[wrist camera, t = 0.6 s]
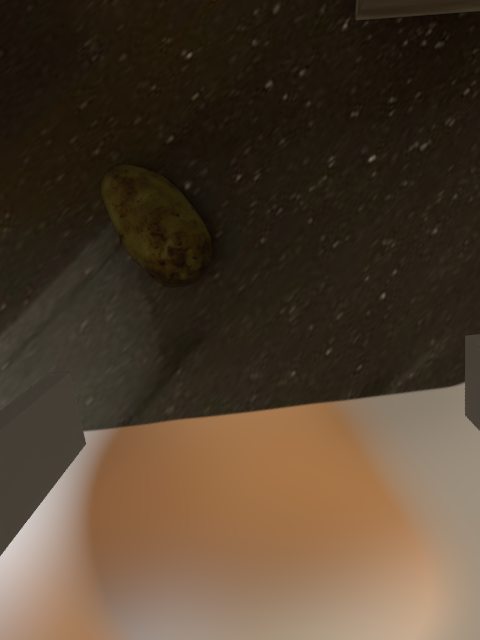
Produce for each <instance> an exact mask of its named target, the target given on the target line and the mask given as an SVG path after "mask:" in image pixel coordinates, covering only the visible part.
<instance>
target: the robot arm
mask: <svg viewBox="0 0 480 640" xmlns="http://www.w3.org/2000/svg"><path fill="white" fill-rule="evenodd" d="M465 415H466V416H467V418H468V419H469V420H470V421H471V422H472V423H473V424H474V425H475V426H476V427H477V428H478V429H479V430H480V335H469V336H465ZM85 445H86V442H85V437H84V433H83V428H82V424H81V419H80V414H79V410H78V405H77V401H76V396H75V392H74V387H73V383H72V378H71V374H70V372H64V373H53V374H48V375H47V376H46V377H44V378H43V379H42V380H40V381H39V382H38V383H36V384H35V385H34V386H33V387H31V388H30V389H29V390H27V391H26V392H25V393H23V394H22V395H21V396H20V397H18V398H17V399H16V400H14V401H13V402H12V403H10V404H9V405H8V406H7V407H5V408H4V409H3V410H1V411H0V556H1V554H2V553H3V552H4V550H5V549H6V548H7V547H8V545H9V544H10V543H11V541H12V540H13V539H14V537H15V536H16V535H17V534H18V532H19V531H20V530H21V528H22V527H23V525H24V524H25V523H26V522H27V520H28V519H29V518H30V517H31V515H32V514H33V513H34V511H35V510H36V509H37V507H38V506H39V505H40V503H41V502H42V501H43V500H44V498H45V497H46V496H47V494H48V493H49V492H50V490H51V489H52V488H53V486H54V485H55V484H56V483H57V481H58V480H59V479H60V477H61V476H62V475H63V473H64V472H65V470H66V469H67V468H68V467H69V466H70V464H71V463H72V462H73V460H74V459H75V458H76V456H77V455H78V454H79V452H80V451H81V450H82V449H83V447H84V446H85Z"/></svg>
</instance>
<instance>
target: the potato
mask: <svg viewBox="0 0 480 640" xmlns="http://www.w3.org/2000/svg"><path fill="white" fill-rule="evenodd" d="M101 195H102V199H103V202H104V204H105V207H106V209H107V212H108V214H109V216H110V219H111V221H112V223H113V225H114V227H115V229H116V231H117V233H118V235H119V238H120V242H121V243H122V244H123V246H124V247H125V249H126V251H127V252H128V253H129V254H130V256H131V257H132V258H133V259H134V260H135V261H136V262H137V263H138V264H140V265H141V266H142V267H143V268H144V269H145V270H146V272H147V273H148V274H149V275H150V276H151V277H152V278H153V279H154V280H156V281H157V282H159V283H161V284H162V285H164V286H167V287H172V288H173V287H183V286H187V285H190V284H192V283H194V282H196V281H197V280H199V279H200V278H201V277H203V276H204V275H205V273H206V272H207V270H208V268H209V266H210V263H211V260H212V242H211V237H210V234H209V232H208V230H207V227H206V226H205V224H204V222H203V220H202V219H201V217H200V216H199V214H198V213H197V211H196V210H195V209H194V207H193V206H192V205H191V204H190V203H189V202H188V200H187V199H186V198H185V196H184V195H183V193H182V192H181V191H180V190H179V189H178V188H177V187H176V186H175V185H174V184H172V183H171V182H170V181H169V180H168V179H166V178H165V177H163V176H162V175H160V174H159V173H157V172H155V171H152V170H150V169H146V168H142V167H138V166H134V165H129V164H118V165H115V166H113V167H111V168H110V169H109V170H108V171H107V172H106V174H105V176H104V177H103V180H102V183H101Z"/></svg>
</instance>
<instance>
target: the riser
mask: <svg viewBox="0 0 480 640" xmlns="http://www.w3.org/2000/svg"><path fill="white" fill-rule="evenodd" d="M472 11H480V0H356V20H367V19H380V18H393V17H406V16H419V15H433V14H446V13H459V12H472Z"/></svg>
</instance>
